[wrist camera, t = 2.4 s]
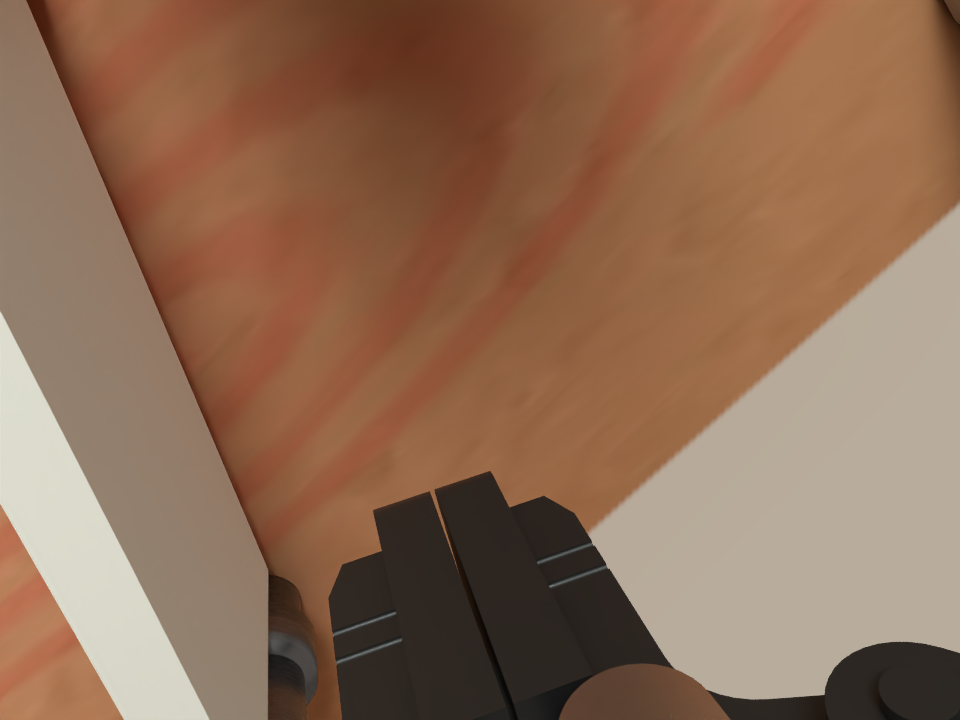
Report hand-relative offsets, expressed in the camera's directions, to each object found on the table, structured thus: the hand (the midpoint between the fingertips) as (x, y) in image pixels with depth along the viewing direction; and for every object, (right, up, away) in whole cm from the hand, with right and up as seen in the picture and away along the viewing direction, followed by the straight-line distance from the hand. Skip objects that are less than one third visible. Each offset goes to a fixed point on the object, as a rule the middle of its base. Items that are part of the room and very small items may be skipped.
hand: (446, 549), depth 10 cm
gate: (-10, +4, +14) cm, 17 cm away
